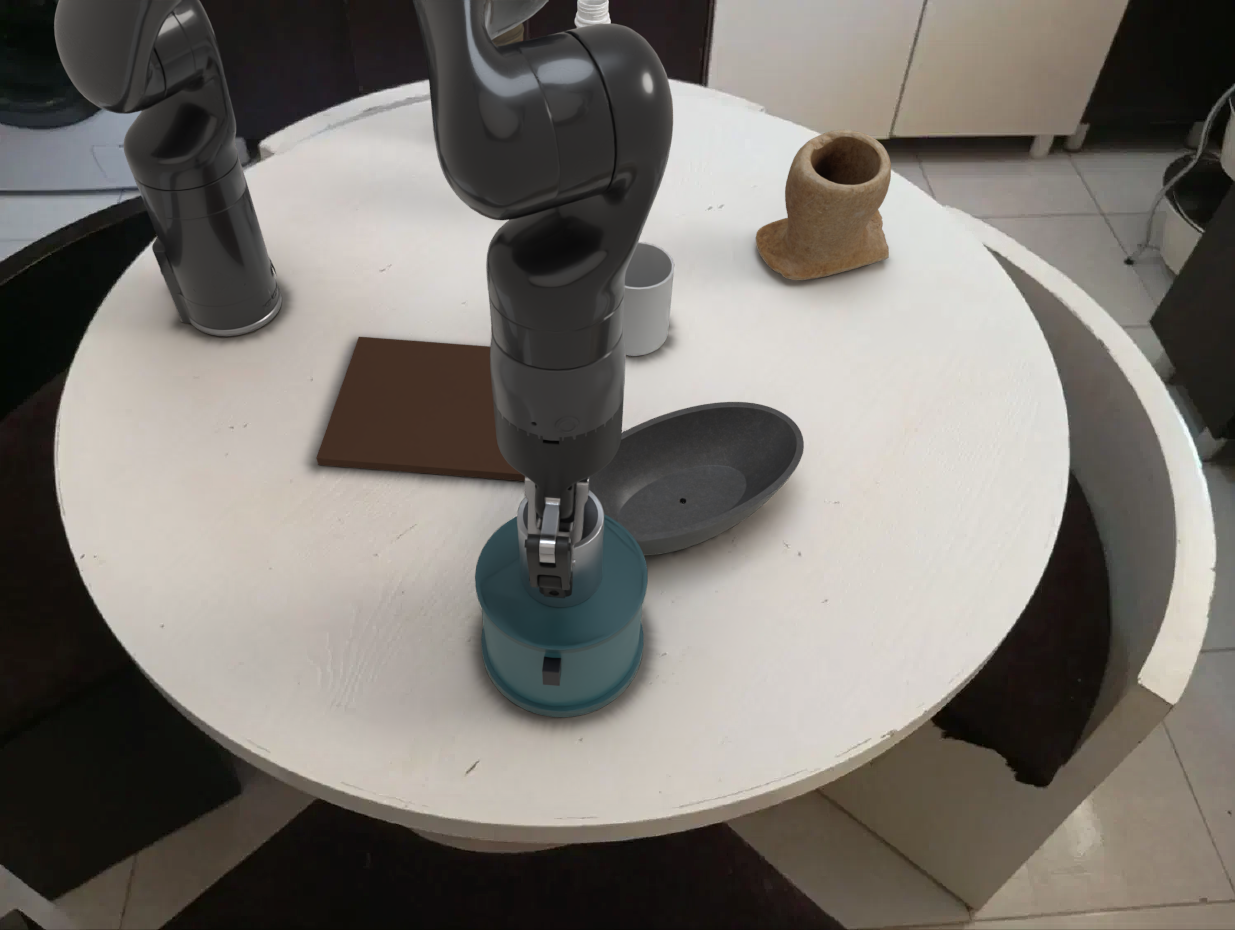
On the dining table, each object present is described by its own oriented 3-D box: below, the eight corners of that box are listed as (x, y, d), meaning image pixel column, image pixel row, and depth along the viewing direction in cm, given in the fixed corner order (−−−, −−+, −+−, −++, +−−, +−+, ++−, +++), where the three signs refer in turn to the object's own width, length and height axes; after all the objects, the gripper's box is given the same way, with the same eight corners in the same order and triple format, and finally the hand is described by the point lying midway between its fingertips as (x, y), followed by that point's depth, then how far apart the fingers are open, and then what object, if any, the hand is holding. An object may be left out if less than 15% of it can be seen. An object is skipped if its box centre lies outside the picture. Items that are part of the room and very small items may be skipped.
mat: (318, 465, 90) (315, 458, 89) (360, 343, 100) (358, 336, 99) (538, 482, 89) (537, 475, 88) (557, 358, 99) (557, 351, 99)
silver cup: (515, 604, 69) (511, 546, 64) (526, 537, 73) (523, 477, 68) (598, 611, 69) (600, 553, 64) (605, 543, 73) (607, 484, 68)
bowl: (822, 514, 88) (836, 470, 83) (604, 614, 81) (606, 572, 76) (746, 423, 95) (756, 378, 90) (539, 508, 87) (537, 463, 83)
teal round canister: (467, 718, 75) (455, 653, 67) (496, 562, 84) (488, 489, 76) (637, 732, 74) (645, 669, 67) (647, 574, 83) (655, 502, 76)
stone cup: (787, 306, 106) (813, 186, 94) (742, 239, 113) (761, 120, 101) (911, 279, 109) (951, 160, 98) (860, 216, 116) (892, 98, 105)
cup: (677, 350, 101) (685, 282, 94) (582, 368, 99) (583, 300, 92) (655, 304, 105) (661, 236, 98) (564, 321, 103) (563, 252, 96)
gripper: (510, 296, 61) (521, 469, 74) (471, 476, 52) (492, 639, 65) (632, 305, 61) (622, 477, 74) (614, 488, 52) (606, 648, 65)
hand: (561, 552), depth 69 cm, fingers closed on silver cup, 6 cm apart
